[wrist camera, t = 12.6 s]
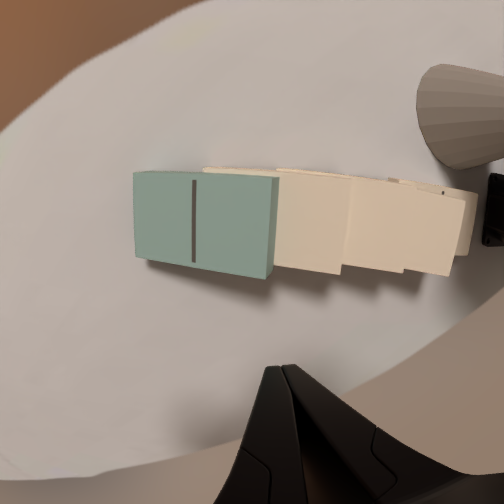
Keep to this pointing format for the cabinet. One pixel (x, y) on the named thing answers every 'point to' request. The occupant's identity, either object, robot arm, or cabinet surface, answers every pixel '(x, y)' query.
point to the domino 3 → (376, 222)
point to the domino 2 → (307, 218)
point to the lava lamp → (462, 115)
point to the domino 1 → (207, 220)
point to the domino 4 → (434, 233)
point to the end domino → (468, 214)
